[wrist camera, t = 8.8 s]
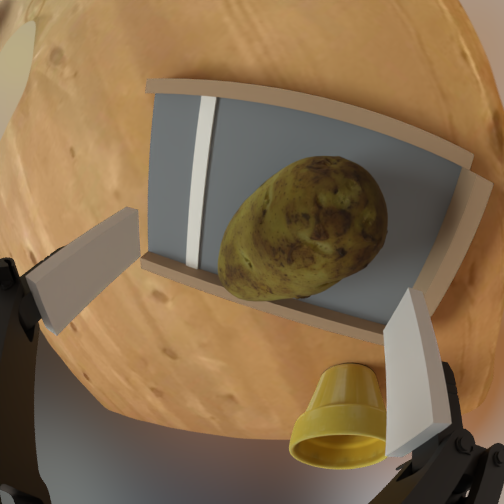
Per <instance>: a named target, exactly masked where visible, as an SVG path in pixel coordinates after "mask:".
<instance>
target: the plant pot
mask: <svg viewBox="0 0 504 504" xmlns="http://www.w3.org/2000/svg"><path fill="white" fill-rule="evenodd" d="M386 426H387V412H386V409H385V405H384V402H383V399H382V395H381V392H380V388H379V385H378V381H377V378H376V375H375V373H374V372H373V371H372V370H371V369H370V368H368V367H366V366H364V365H360V364H353V363H346V364H340V365H336V366H333V367H331V368H329V369H328V370H326V371H325V372H324V373H323V374H322V376H321V378H320V380H319V382H318V385H317V387H316V390H315V392H314V394H313V397H312V399H311V401H310V403H309V405H308V408H307V410H306V412H305V413H303V414H302V415H301V416H300V417H299V418H298V419H297V420H296V422H295V425H294V428H293V432H292V436H291V440H290V444H289V452H290V454H291V455H292V456H293V457H294V458H295V459H297V460H298V461H300V462H302V463H305V464H308V465H311V466H315V467H320V468H327V469H354V468H361V467H366V466H370V465H373V464H376V463H378V462H380V461H383V460H384V459H386V458H387V457H388V456H385V450H386Z"/></svg>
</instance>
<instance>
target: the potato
mask: <svg viewBox="0 0 504 504" xmlns="http://www.w3.org/2000/svg"><path fill="white" fill-rule="evenodd" d="M387 227H388V212H387V206H386V202H385V199H384V196H383V194H382V191H381V189H380V187H379V185H378V183H377V182H376V180H375V179H374V178H373V177H372V175H371V174H370V173H369V172H368V171H367V170H366V169H364V168H363V167H362V166H360V165H359V164H357V163H355V162H352V161H350V160H347V159H345V158H343V157H340V156H313V157H307V158H303V159H300V160H298V161H295V162H293V163H291V164H290V165H288V166H286V167H285V168H283V169H281V170H280V171H279V172H277V173H276V174H274V175H273V176H272V177H270V178H269V179H267V180H266V181H265V182H264V183H263V184H262V185H261V186H260V187H259V188H258V189H257V190H256V191H255V192H254V193H253V194H252V195H251V196H249V197H248V198H247V199H246V200H245V201H244V202H243V203H242V205H241V206H240V208H239V209H238V210H237V212H236V213H235V214H234V216H233V217H232V219H231V221H230V222H229V224H228V226H227V228H226V230H225V232H224V235H223V238H222V241H221V246H220V251H219V256H218V276H219V279H220V281H221V283H222V285H223V287H224V288H225V289H226V290H227V291H228V292H229V293H231V294H232V295H233V296H235V297H237V298H239V299H242V300H245V301H274V300H280V299H288V298H296V299H302V298H303V299H305V298H308V297H310V296H311V295H316V294H319V293H321V292H323V291H325V290H327V289H328V288H330V287H331V286H333V285H335V284H336V283H338V282H339V281H341V280H342V279H343V278H346V277H348V276H350V275H353V274H355V273H357V272H359V271H361V270H363V269H364V268H366V267H367V266H368V264H369V263H371V261H372V260H373V259H374V258H375V256H376V255H377V254H378V253H379V251H380V249H382V248H383V246H384V243H385V239H386V235H387V233H388V230H387Z"/></svg>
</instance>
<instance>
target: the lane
mask: <svg viewBox="0 0 504 504" xmlns="http://www.w3.org/2000/svg"><path fill="white" fill-rule="evenodd" d="M145 93H155V101H154V109H153V119H152V130H151V143H150V158H149V180H148V252H147V253H146V254H144V255H143V256H142V257H141V258H140V260H141V268H142V269H144V270H147V271H150V272H152V273H155V274H157V275H160V276H163V277H165V278H168V279H171V280H173V281H176V282H179V283H182V284H184V285H187V286H190V287H193V288H195V289H198V290H201V291H204V292H207V293H209V294H212V295H215V296H218V297H221V298H224V299H227V300H230V301H233V302H236V303H239V304H242V305H245V306H248V307H251V308H254V309H257V310H260V311H263V312H266V313H270V314H273V315H276V316H279V317H282V318H286V319H289V320H292V321H296V322H299V323H302V324H306V325H309V326H313V327H316V328H319V329H323V330H326V331H330V332H334V333H337V334H341V335H345V336H348V337H352V338H356V339H360V340H363V341H367V342H371V343H375V344H379V345H383V346H384V336H383V330H384V328H385V327H386V325H387V323H388V322H389V320H390V319H391V317H392V315H393V313H394V312H395V310H396V308H397V307H398V305H399V303H400V301H401V300H402V298H403V296H404V294H405V292H406V291H407V289H408V287H409V288H412V289H416V290H419V291H422V293H423V296H424V299H425V302H426V305H427V309H428V312H429V315H430V318H431V316H432V315H433V313H434V311H435V310H436V308H437V306H438V305H439V303H440V301H441V300H442V298H443V296H444V295H445V293H446V291H447V289H448V288H449V286H450V284H451V282H452V280H453V278H454V277H455V275H456V273H457V271H458V269H459V267H460V265H461V263H462V261H463V259H464V257H465V255H466V253H467V251H468V248H469V246H470V244H471V242H472V240H473V237H474V235H475V233H476V230H477V228H478V226H479V223H480V221H481V218H482V216H483V213H484V210H485V208H486V205H487V202H488V199H489V197H490V194H491V191H492V188H493V185H494V183H492V182H490V181H488V180H487V179H485V178H483V177H481V176H479V175H477V174H476V173H474V172H472V171H470V168H471V165H472V161H473V158H474V154H473V153H471V152H469V151H467V150H465V149H463V148H461V147H459V146H457V145H455V144H453V143H451V142H449V141H447V140H445V139H442V138H440V137H438V136H436V135H434V134H431V133H429V132H427V131H424V130H422V129H420V128H417V127H415V126H412V125H410V124H407V123H404V122H402V121H399V120H396V119H394V118H391V117H388V116H385V115H382V114H379V113H376V112H373V111H370V110H367V109H364V108H361V107H357V106H354V105H350V104H347V103H343V102H339V101H336V100H332V99H328V98H324V97H319V96H315V95H311V94H306V93H301V92H296V91H291V90H286V89H280V88H274V87H268V86H261V85H254V84H246V83H238V82H228V81H216V80H201V79H147V82H146V90H145ZM313 156H340V157H343V158H345V159H347V160H350V161H352V162H355V163H357V164H359V165H360V166H362V167H363V168H364V169H366V170H367V171H368V172H369V173H370V174H371V175H372V177H373V178H374V179H375V180H376V182H377V183H378V185H379V187H380V189H381V191H382V194H383V196H384V199H385V202H386V206H387V212H388V227H387V230H388V233H387V235H386V239H385V243H384V246H383V248H382V249H380V251H379V253H378V254H377V255H376V256H375V258H374V259H373V260H372V261H371V263H369V264H368V266H367V267H366V268H364V269H363V270H361V271H359V272H357V273H355V274H353V275H350V276H348V277H346V278H343V279H342V280H341V281H339V282H338V283H336V284H335V285H333V286H331V287H330V288H328V289H327V290H325V291H323V292H321V293H319V294H316V295H311V296H310V297H308V298H305V299H303V298H302V299H296V298H288V299H280V300H274V301H245V300H242V299H239V298H237V297H235V296H233V295H232V294H231V293H229V292H228V291H227V290H226V289H225V288H224V287H223V285H222V283H221V281H220V279H219V276H218V256H219V251H220V246H221V241H222V238H223V235H224V232H225V230H226V228H227V226H228V224H229V222H230V221H231V219H232V217H233V216H234V214H235V213H236V212H237V210H238V209H239V208H240V206H241V205H242V203H243V202H244V201H245V200H246V199H247V198H248V197H249V196H251V195H252V194H253V193H254V192H255V191H256V190H257V189H258V188H259V187H260V186H261V185H262V184H263V183H264V182H265V181H266V180H267V179H269V178H270V177H272V176H273V175H274V174H276V173H277V172H279V171H280V170H281V169H283V168H285V167H286V166H288V165H290V164H291V163H293V162H295V161H298V160H300V159H303V158H307V157H313Z"/></svg>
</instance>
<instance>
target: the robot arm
mask: <svg viewBox="0 0 504 504" xmlns="http://www.w3.org/2000/svg"><path fill="white" fill-rule="evenodd" d="M140 256H141V255H140V240H139V220H138V210H137V209H133V208H129V207H125V208H124V209H122V210H120V211H119V212H117V213H115V214H114V215H112V216H111V217H109V218H107V219H106V220H104V221H103V222H101V223H99V224H98V225H96V226H95V227H93V228H92V229H90V230H89V231H87V232H86V233H84V234H83V235H81V236H80V237H78V238H77V239H75V240H74V241H72V242H71V243H69V244H68V245H66V246H63V247H61V248H58V249H57V250H56V251H54V252H53V253H51V254H50V256H47V257H46V258H44V260H42V261H40V262H39V263H38V264H36V265H35V266H34V267H32V268H31V269H30V270H29V271H27V272H26V273H25V274H23V275H22V276H21V277H19V274H18V271H17V268H16V265H15V262H14V260H13V259H12V258H2V259H0V490H2V491H5V492H7V493H9V494H10V495H11V496H12V498H13V499H14V502H15V504H51V500H50V495H49V492H48V489H47V486H46V484H45V483H44V482H43V480H42V479H41V477H40V474H39V470H38V463H37V454H36V443H35V428H34V381H35V365H36V354H37V345H38V337H39V329H40V327H39V323H38V321H39V320H40V319H41V318H42V320H43V322H44V324H45V326H46V328H47V329H48V330H50V331H51V332H52V333H54V334H55V335H56V336H57V335H58V334H59V333H60V332H61V331H62V330H63V329H64V328H65V327H66V326H67V325H68V324H69V323H70V322H71V321H72V320H73V319H74V318H75V317H76V316H77V315H78V314H79V313H80V312H81V311H82V310H83V309H84V308H85V307H86V306H87V305H88V304H89V303H90V302H91V301H92V300H93V299H94V298H95V297H96V296H98V295H99V294H100V293H101V292H102V291H103V290H104V289H105V288H106V287H107V286H108V285H109V284H110V283H111V282H113V281H114V280H115V279H116V278H117V277H118V276H119V275H120V274H121V273H122V272H123V271H125V270H126V269H127V268H128V267H129V266H130V265H131V264H132V263H134V262H135V261H136V260H137V259H138V258H139V257H140ZM383 336H384V348H385V363H386V388H387V426H386V450H385V456H388V457H404V456H405V455H407V454H409V453H410V452H412V459H411V460H409V461H407V462H405V463H404V464H402V465H400V466H399V467H397V468H396V470H399V469H401V468H402V469H401V470H400V471H399V472H398V474H397V475H396V476H395V477H394V478H393V479H392V480H391V481H390V482H389V483H388V485H386V487H385V488H384V489H383V490H382V491H381V492H380V493H379V494H378V495H377V496H376V497H375V498H374V499H373V500H372V501H370V502H369V503H368V504H498V502H499V498H500V495H501V491H502V488H503V484H504V445H503V444H500V443H496V444H494V445H492V446H491V447H489V448H488V449H486V448H483V447H480V446H478V445H476V444H475V441H474V438H473V436H472V434H471V433H470V432H469V431H468V430H466V429H463V425H462V417H461V410H460V404H459V398H458V395H457V388H456V386H455V385H456V383H455V378H454V373H453V371H452V370H451V368H450V366H449V364H448V363H447V362H442V361H441V358H440V353H439V349H438V345H437V341H436V337H435V333H434V329H433V326H432V322H431V319H430V315H429V312H428V309H427V305H426V302H425V299H424V296H423V293H422V291H419V290H416V289H412V288H409V287H408V289H407V291H406V292H405V294H404V296H403V298H402V300H401V301H400V303H399V305H398V307H397V308H396V310H395V312H394V313H393V315H392V317H391V319H390V320H389V322H388V323H387V325H386V327H385V328H384V330H383ZM468 490H470V491H469V494H468V497H465V496H466V492H467V491H468ZM0 504H2V502H1V497H0Z"/></svg>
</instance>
